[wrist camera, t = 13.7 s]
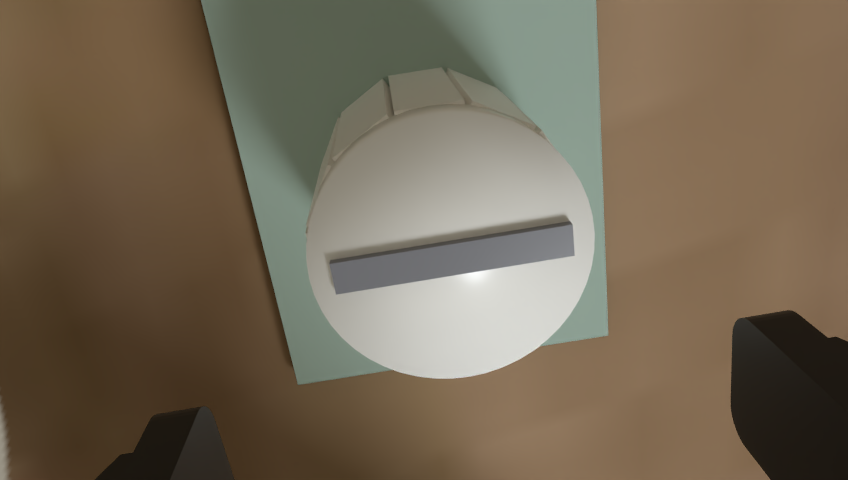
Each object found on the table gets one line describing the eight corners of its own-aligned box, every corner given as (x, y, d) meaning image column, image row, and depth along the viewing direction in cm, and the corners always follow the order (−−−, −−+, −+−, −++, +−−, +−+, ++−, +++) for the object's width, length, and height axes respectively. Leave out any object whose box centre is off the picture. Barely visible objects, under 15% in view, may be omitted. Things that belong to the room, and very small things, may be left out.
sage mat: (602, 326, 22) (608, 335, 21) (299, 374, 22) (298, 385, 21) (586, -75, 17) (593, -76, 17) (202, -17, 17) (196, -17, 17)
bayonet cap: (526, 53, 18) (590, 90, 13) (542, 256, 20) (603, 359, 15) (303, 89, 18) (275, 140, 12) (345, 289, 20) (336, 404, 15)
